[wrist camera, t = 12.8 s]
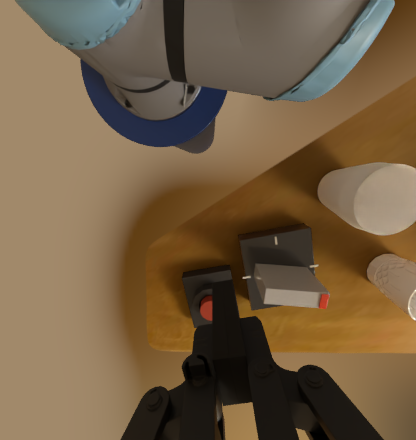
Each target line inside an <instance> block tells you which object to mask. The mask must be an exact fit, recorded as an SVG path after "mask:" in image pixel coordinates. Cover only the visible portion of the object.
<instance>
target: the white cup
mask: <svg viewBox="0 0 416 440" xmlns="http://www.w3.org/2000/svg"><path fill="white" fill-rule="evenodd" d="M367 277H368V279H369V280H370V282H371V283H372V284H373V285H375V286H376V287H377V288H378V289H379V290H380V291H381V292H382V293H383V294H384V295H386V296H387V297H388V298H389V299H390V300H391V301H392V302H393V303H395V304H396V305H397V306H398V307H399V308H400V309H402V310H403V311H404V312H405V313H406V314H408V315H409V316H410V317H411V318H412V319H413V320H415V321H416V263H415V262H412V261H410V260H406V259H403V258H401V257H399V256H396V255H394V254H382V255H380V256H378V257H376V258H375V259H374V260H373V261H372V262H371V263H370V264H369V266H368V269H367Z"/></svg>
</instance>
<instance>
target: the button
mask: <svg viewBox="0 0 416 440" xmlns="http://www.w3.org/2000/svg"><path fill="white" fill-rule="evenodd" d="M200 313H201V315H202V316H203V318H205V319H207V320H210V321H212V295H209V296H206V297H205V298H203V299H202V301H201V306H200Z"/></svg>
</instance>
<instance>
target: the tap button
mask: <svg viewBox="0 0 416 440" xmlns="http://www.w3.org/2000/svg"><path fill="white" fill-rule="evenodd" d="M231 279H232V275H231V270H230V265H224V266H218V267H212V268H207V269H201V270H195V271H189V272H184V273H183V276H182V281H183V284H184V288H185V292H186V296H187V300H188V304H189V308H190V312H191V316H192V320H193V324H194V328H197V327H198V326H199V325H205V324H212V321H210V320H207V319H205V318H203V316H202V315H201V313H200V306H201V301H202V299H203V298H205V297H206V296H209V295H212V283H213V282H219V281H225V280H231Z"/></svg>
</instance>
